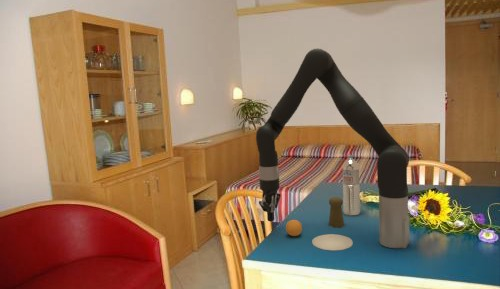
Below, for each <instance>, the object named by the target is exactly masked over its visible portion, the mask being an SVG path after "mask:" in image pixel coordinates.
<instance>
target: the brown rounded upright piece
mask: <svg viewBox="0 0 500 289" xmlns="http://www.w3.org/2000/svg"><path fill="white" fill-rule="evenodd" d="M328 204H329V206H330V208H329V209H330V210H329V219H328V226H329V227H331V228H343V227H344V226H345V220H344V215H343V214H344V213H343V208H342V206H343V198H341V197H338V196H333V197H331V198H329V200H328Z"/></svg>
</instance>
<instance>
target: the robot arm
mask: <svg viewBox="0 0 500 289" xmlns="http://www.w3.org/2000/svg"><path fill="white" fill-rule="evenodd" d="M303 58H304V59H303V60H302V62H301V64H300V66H299V68H298V71H297V72H296V74H295V76H294V78H293V79H292V81H291V83H290V85H288V88H287V89H286V91H285V92H284V94H283V95H282V96H281V98H280V99H279V101H278V102H277V103H276V105H275V106H274V108H273V109H272V111H271V113H270V116H269V117H268V118H267V120H266V122H265V123H264V124H263V125H261V126H260V127H259V128H258V129H257V130H256V133H255V141H256V146H257V151H258V161H259V162H258V163H259V164H258V165H259V166H258V167H259V169H258V178H259V179H258V180H259V190H260V191H262V195H261V196H262V199H261V200H259V201H258V204H259V206H260V208H261V209H262V211H263V212H264V213H266V216H267V218H266V219H267V221H268V222H274V221H275V211H276V209H277V208H278V205H279V202H280V199H281V195H282V194H281V193H279V192H278V190H280V169H279V156H278V151H277V150H276V143H275V141H276V140H277V138H278V137H279V136H280V135H281V133H282V132H283V129H284V128H285V126H286V124H287V123H288V122H289V121H290V120H291V118H292V117H293V115H294V114H295V113H296V111H297V110H298V108H299V106H300V105H301V103H302V101H303V99H304V96H305V95H306V92H308V90H309V88H310V87H311V86H312V85H313V83H314V82H315V81H316V80H317V81H319V83H321V84H322V86H323V87H324V88H325V89H326V90H327V91H328V93H329V95H330V97H331V99H332V101H333V104H334V105H335V107H336V109H337V111H338V112H339V113H340V115H341V116H342V118H343V119H344V120H345V122H346V123H347V124H348V126H349V127H350V128H351V129H352V130H353V131H354V132H355V133H357V134H358V135H359V136H360V137H362V138H363V140H366V142H367V143H368V144H369V145H370V146H371V148H372V149H373V150H374V152H375V154H376V155H377V163H376V165H377V166H376V171H377V174H376V175H377V176H376V177H377V188H378V216H379V217H378V220H379V221H378V223H379V224H378V225H379V226H378V228H379V229H378V230H379V231H378V233H379V235H378V238H379V242H378V243H379V244H380V245H381V246H383V247H385V248H390V249H407V247H408V245H410V215H409V188H408V166H409V163H410V157H409V155H408V153H407V151H406V150H405V149H404V147H402V146H401V145H400V144H399V143H398V141H397V140H396V139H395V138H394V137H393V136H392V135H391V134H390V133H389V132H388V131H387V129H386V128H385V127H384V125H383V123H382V122H381V120H380V119H379V118H378V116H377V115H376V113H375V112H374V110H373V109H372V108H371V106H370V105H369V103H368V102H367V101H366V100H365V98H364V97H363V96H362V95H361V94H360V92H359V91H358V90H357V89H356V88H355V87H354V86H353V85H352V84H351V83H350V82H349V81H348V80H347V79H346V77H345V76H344V75H343V73H342V72H341V70H340V69H339V67H338V65H337V64H336V62H335V60H334V59H333V57H332V55H331V54H330V53H329V52H327V51H326V50H324V49H322V48H313V49H311V50H309V51H308V52H307V53H306V54H305V56H304V57H303Z"/></svg>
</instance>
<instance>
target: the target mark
mask: <svg viewBox="0 0 500 289" xmlns="http://www.w3.org/2000/svg"><path fill="white" fill-rule="evenodd" d="M311 242H312V245H313V246H314V247H316V248H318V249H321V250H325V251H334V252H336V251H343V250H347V249H349V248H351V247H352V246H353V245H354V244H353V240H352V238H350V237H348V236H345V235H341V234H337V233H336V234H334V233H330V234H329V233H328V234H322V235H318V236H315V237H314V238H313V239H312V241H311Z"/></svg>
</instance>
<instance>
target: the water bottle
mask: <svg viewBox="0 0 500 289" xmlns="http://www.w3.org/2000/svg"><path fill="white" fill-rule="evenodd" d="M353 156H354V155H352V154H350V155H348V156H347V158H348V159H346V160H345V161H344V162H343V164H342V166H341V167H342V168H341V169H342V201H343V204H342V206H343V208H342V211H343V214H345V215H346V216H351V217H353V216H358V215H360V213H361V201H360V200H361V196H360V195H361V194H360V192H361V191H360V164H359V163H358V162H357V161H356V160H355V159H354V157H353Z"/></svg>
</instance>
